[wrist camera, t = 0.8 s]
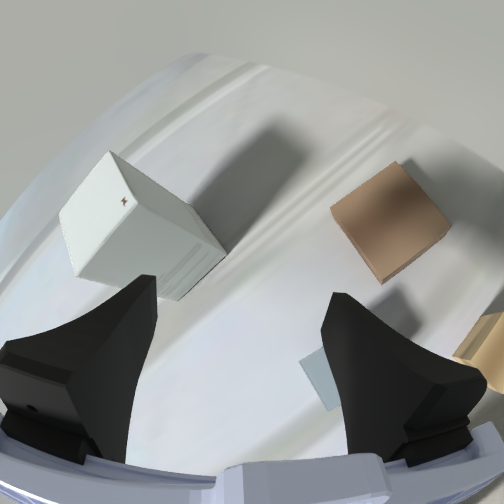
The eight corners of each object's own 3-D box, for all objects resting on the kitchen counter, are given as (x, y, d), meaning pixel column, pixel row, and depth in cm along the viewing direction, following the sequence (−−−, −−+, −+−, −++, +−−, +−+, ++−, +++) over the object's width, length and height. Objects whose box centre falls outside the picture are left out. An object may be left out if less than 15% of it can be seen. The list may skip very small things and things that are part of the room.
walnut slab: (443, 237, 22) (451, 225, 19) (381, 285, 23) (382, 279, 20) (394, 178, 25) (395, 160, 22) (334, 221, 26) (329, 207, 23)
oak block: (508, 345, 17) (535, 345, 13) (480, 384, 17) (503, 394, 13) (480, 316, 19) (503, 310, 14) (451, 356, 19) (470, 360, 15)
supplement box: (193, 205, 32) (110, 145, 21) (230, 255, 29) (139, 201, 17) (147, 252, 33) (56, 212, 22) (176, 304, 30) (73, 279, 18)
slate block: (379, 371, 21) (382, 380, 17) (336, 397, 22) (327, 411, 17) (354, 330, 23) (350, 328, 18) (312, 356, 23) (298, 361, 19)
